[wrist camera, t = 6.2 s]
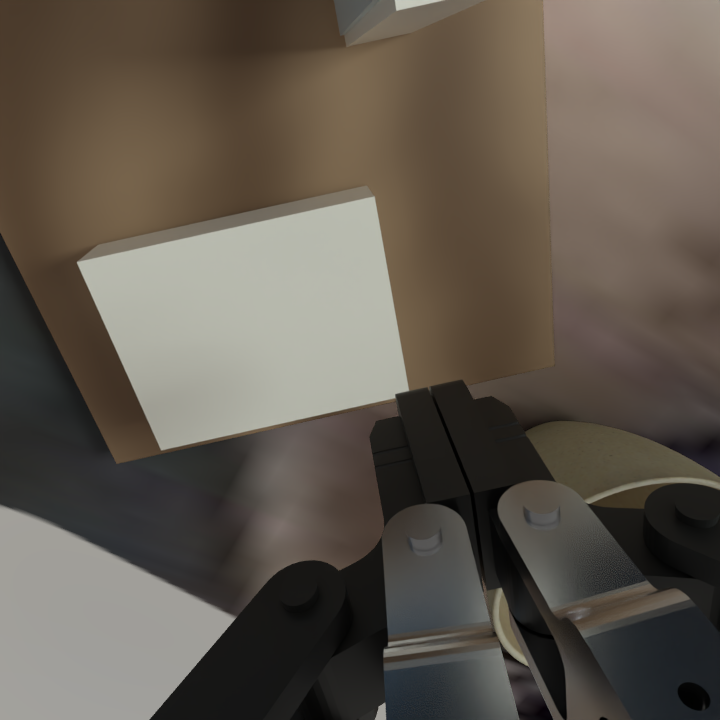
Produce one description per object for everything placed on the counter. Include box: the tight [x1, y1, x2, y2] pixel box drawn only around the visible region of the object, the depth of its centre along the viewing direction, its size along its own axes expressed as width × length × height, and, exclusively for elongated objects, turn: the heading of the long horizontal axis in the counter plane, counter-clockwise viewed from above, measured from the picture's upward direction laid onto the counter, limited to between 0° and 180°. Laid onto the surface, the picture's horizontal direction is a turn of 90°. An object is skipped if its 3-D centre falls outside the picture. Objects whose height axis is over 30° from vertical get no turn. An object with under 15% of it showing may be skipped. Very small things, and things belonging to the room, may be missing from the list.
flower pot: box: [486, 421, 720, 666], centre depth 23 cm, size 10×10×7 cm
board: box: [0, 0, 555, 464], centre depth 18 cm, size 18×21×1 cm
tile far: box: [77, 185, 409, 450], centre depth 19 cm, size 2×7×9 cm
